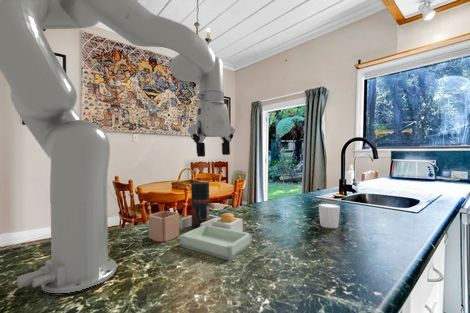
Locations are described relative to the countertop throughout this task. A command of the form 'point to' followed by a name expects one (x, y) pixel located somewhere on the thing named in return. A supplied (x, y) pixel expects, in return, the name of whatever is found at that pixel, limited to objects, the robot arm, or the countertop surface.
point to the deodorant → (199, 203)
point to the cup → (163, 226)
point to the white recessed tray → (215, 223)
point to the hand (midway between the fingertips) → (214, 155)
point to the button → (227, 217)
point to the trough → (216, 241)
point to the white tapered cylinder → (329, 215)
